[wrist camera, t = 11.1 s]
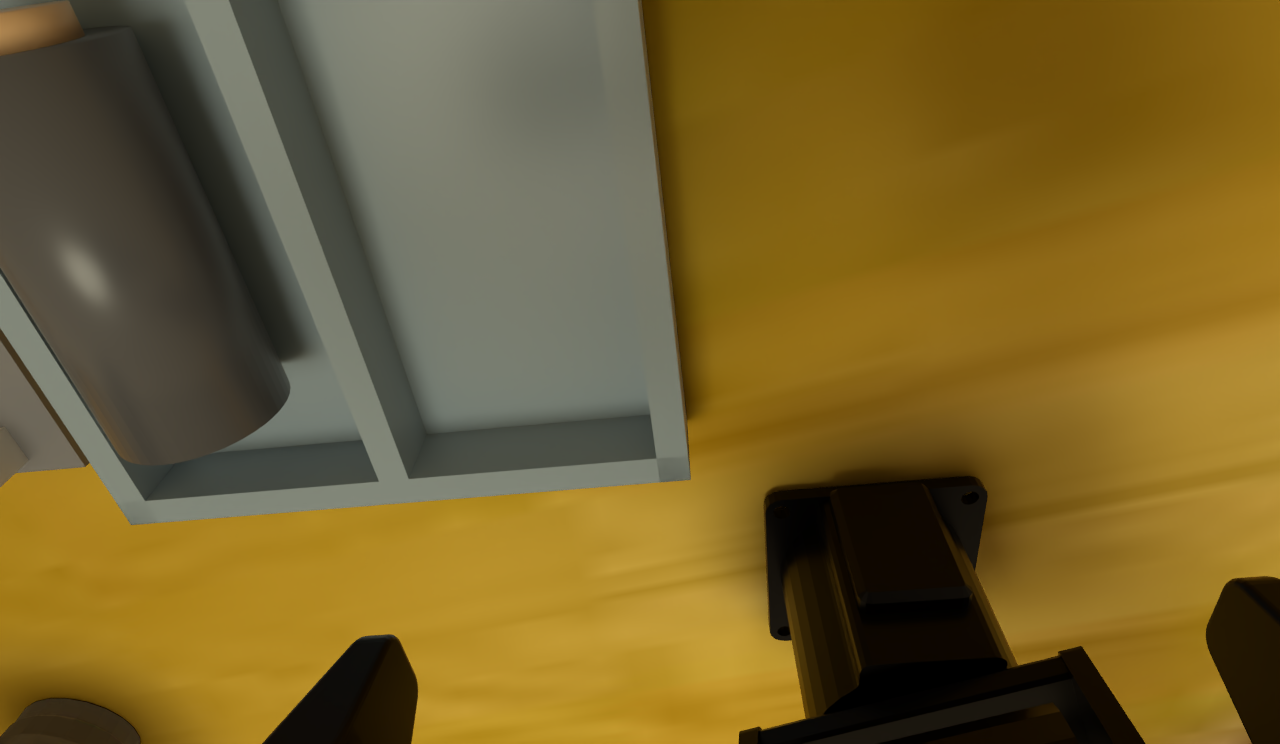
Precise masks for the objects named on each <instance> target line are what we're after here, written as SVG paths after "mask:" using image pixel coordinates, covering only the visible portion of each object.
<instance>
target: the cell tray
mask: <svg viewBox="0 0 1280 744" xmlns="http://www.w3.org/2000/svg"><path fill="white" fill-rule="evenodd" d="M54 1H65V0H0V9H5V8H11V7H18V6H25V5H31V4H38V3H46V2H54ZM68 1H69V2H70V4H71V6H72V8H73V10H74V12H75V15H76V17H77V19H78V21H79V23H80V25H81V27H82V29H89V28H97V27H107V26H131V28H132V30H133V32H134V34H135V37H136V39H137V41H138V43H139V46H140V48H141V50H142V52H143V55H144V57H145V59H146V61H147V64H148V66H149V68H150V70H151V73H152V75H153V77H154V79H155V81H156V84H157V86H158V88H159V90H160V93H161V95H162V97H163V99H164V102H165V104H166V106H167V108H168V111H169V113H170V115H171V117H172V120H173V122H174V124H175V126H176V129H177V131H178V133H179V135H180V138H181V140H182V142H183V144H184V146H185V149H186V151H187V153H188V155H189V158H190V160H191V162H192V164H193V167H194V169H195V171H196V173H197V176H198V178H199V180H200V182H201V185H202V187H203V189H204V191H205V194H206V196H207V198H208V200H209V202H210V205H211V207H212V209H213V211H214V214H215V216H216V218H217V220H218V223H219V225H220V227H221V229H222V232H223V234H224V236H225V238H226V241H227V243H228V245H229V247H230V250H231V252H232V254H233V256H234V259H235V261H236V263H237V265H238V267H239V270H240V272H241V274H242V276H243V279H244V281H245V283H246V285H247V288H248V290H249V292H250V294H251V297H252V299H253V301H254V303H255V306H256V308H257V310H258V312H259V315H260V317H261V319H262V321H263V324H264V326H265V328H266V330H267V332H268V335H269V337H270V339H271V341H272V344H273V346H274V348H275V350H276V353H277V355H278V357H279V359H280V362H281V364H282V366H283V368H284V371H285V373H286V375H287V377H288V380H289V382H290V386H291V389H290V394H289V397H288V399H287V401H286V403H285V404H284V406H283V407H282V408H281V410H280V411H279V412H278V413H277V414H276V415H275V416H274V417H273V418H272V419H271V420H270V421H268V422H267V423H266V424H265V425H263V426H262V427H261V428H259V429H258V430H256V431H255V432H253V433H252V434H250V435H249V436H247V437H245V438H244V439H242V440H240V441H238V442H236V443H234V444H232V445H230V446H228V447H226V448H224V449H221V450H219V451H216V452H214V453H211V454H208V455H205V456H202V457H199V458H196V459H192V460H188V461H185V462H180V463H174V464H167V465H154V466H150V465H139V464H134V463H131V462H128V461H126V460H124V459H123V458H121V456H120V455H119V454H118V453H117V451H116V450H115V448H114V447H113V445H112V443H111V442H110V440H109V439H108V437H107V436H106V434H105V432H104V431H103V429H102V428H101V426H100V424H99V423H98V421H97V420H96V418H95V417H94V415H93V413H92V412H91V410H90V409H89V407H88V405H87V404H86V402H85V401H84V399H83V398H82V396H81V394H80V393H79V391H78V390H77V388H76V387H75V385H74V383H73V382H72V380H71V379H70V377H69V375H68V374H67V372H66V371H65V369H64V368H63V366H62V364H61V363H60V361H59V360H58V358H57V357H56V355H55V353H54V352H53V350H52V349H51V347H50V345H49V344H48V342H47V341H46V339H45V338H44V336H43V334H42V333H41V331H40V330H39V328H38V327H37V325H36V323H35V322H34V320H33V319H32V317H31V315H30V314H29V312H28V311H27V309H26V308H25V306H24V304H23V303H22V301H21V300H20V298H19V297H18V295H17V293H16V292H15V290H14V289H13V287H12V285H11V284H10V282H9V281H8V279H7V278H6V276H5V274H4V273H3V271H2V270H1V268H0V328H1V330H2V331H3V333H4V334H5V336H6V337H7V339H8V340H9V342H10V343H11V345H12V346H13V348H14V349H15V351H16V352H17V354H18V355H19V357H20V358H21V360H22V361H23V363H24V364H25V366H26V367H27V369H28V370H29V372H30V373H31V375H32V376H33V378H34V379H35V381H36V382H37V384H38V385H39V387H40V388H41V390H42V391H43V393H44V394H45V396H46V397H47V399H48V400H49V402H50V403H51V405H52V406H53V408H54V409H55V411H56V412H57V414H58V416H59V417H60V419H61V420H62V422H63V423H64V425H65V426H66V428H67V429H68V431H69V432H70V434H71V435H72V437H73V438H74V440H75V441H76V443H77V444H78V446H79V447H80V449H81V450H82V452H83V453H84V455H85V456H86V458H87V459H88V461H89V462H90V464H91V465H92V467H93V468H94V470H95V471H96V473H97V474H98V476H99V477H100V479H101V480H102V482H103V483H104V485H105V486H106V488H107V489H108V491H109V492H110V494H111V495H112V497H113V498H114V500H115V501H116V503H117V504H118V506H119V507H120V509H121V510H122V512H123V513H124V515H125V516H126V518H127V519H128V521H129V522H130V524H131V525H136V524H149V523H161V522H173V521H186V520H198V519H211V518H223V517H235V516H248V515H260V514H272V513H285V512H297V511H310V510H322V509H334V508H347V507H359V506H372V505H384V504H396V503H409V502H421V501H434V500H446V499H458V498H471V497H483V496H496V495H508V494H520V493H533V492H545V491H557V490H570V489H582V488H595V487H607V486H619V485H632V484H644V483H657V482H669V481H681V480H691V477H690V461H689V444H688V427H687V416H686V406H685V397H684V388H683V379H682V369H681V360H680V351H679V342H678V332H677V323H676V314H675V305H674V295H673V286H672V277H671V268H670V258H669V249H668V240H667V231H666V221H665V212H664V203H663V194H662V184H661V175H660V166H659V157H658V147H657V138H656V129H655V120H654V110H653V101H652V92H651V83H650V73H649V64H648V55H647V46H646V36H645V27H644V18H643V9H642V0H68Z"/></svg>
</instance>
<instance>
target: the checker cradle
mask: <svg viewBox="0 0 1280 744" xmlns="http://www.w3.org/2000/svg"><path fill="white" fill-rule="evenodd" d="M88 464H89V461H88V459H87V458H86V456H85V455H84V453H83V452H82V450H81V449H80V447H79V446H78V444H77V443H76V441H75V440H74V438H73V437H72V435H71V434H70V432H69V431H68V429H67V428H66V426H65V425H64V423H63V422H62V420H61V419H60V417H59V416H58V414H57V412H56V411H55V409H54V408H53V406H52V405H51V403H50V402H49V400H48V399H47V397H46V396H45V394H44V393H43V391H42V390H41V388H40V387H39V385H38V384H37V382H36V381H35V379H34V378H33V376H32V375H31V373H30V372H29V370H28V369H27V367H26V366H25V364H24V363H23V361H22V360H21V358H20V357H19V355H18V354H17V352H16V351H15V349H14V348H13V346H12V345H11V343H10V342H9V340H8V339H7V337H6V336H5V334H4V333H3V331H2V330H1V328H0V487H1V486H2V485H3V484H4V483H5V482H6V481H7V480H8V479H10V478H11V477H12V476H13V475H14V474H15V473H21V472H32V471H44V470H55V469H67V468H78V467H86V466H87V465H88Z"/></svg>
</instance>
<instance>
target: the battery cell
mask: <svg viewBox="0 0 1280 744" xmlns="http://www.w3.org/2000/svg"><path fill="white" fill-rule="evenodd" d="M0 268H1V270H2V271H3V273H4V274H5V276H6V278H7V279H8V281H9V282H10V284H11V285H12V287H13V289H14V290H15V292H16V293H17V295H18V297H19V298H20V300H21V301H22V303H23V304H24V306H25V308H26V309H27V311H28V312H29V314H30V315H31V317H32V319H33V320H34V322H35V323H36V325H37V327H38V328H39V330H40V331H41V333H42V334H43V336H44V338H45V339H46V341H47V342H48V344H49V345H50V347H51V349H52V350H53V352H54V353H55V355H56V357H57V358H58V360H59V361H60V363H61V364H62V366H63V368H64V369H65V371H66V372H67V374H68V375H69V377H70V379H71V380H72V382H73V383H74V385H75V387H76V388H77V390H78V391H79V393H80V394H81V396H82V398H83V399H84V401H85V402H86V404H87V405H88V407H89V409H90V410H91V412H92V413H93V415H94V417H95V418H96V420H97V421H98V423H99V424H100V426H101V428H102V429H103V431H104V432H105V434H106V436H107V437H108V439H109V440H110V442H111V443H112V445H113V447H114V448H115V450H116V451H117V453H118V454H119V455H120V456H121V458H123V459H124V460H126V461H128V462H131V463H134V464H139V465H150V466H154V465H167V464H174V463H180V462H185V461H188V460H192V459H196V458H199V457H202V456H205V455H208V454H211V453H214V452H216V451H219V450H221V449H224V448H226V447H228V446H230V445H232V444H234V443H236V442H238V441H240V440H242V439H244V438H245V437H247V436H249V435H250V434H252V433H253V432H255V431H256V430H258V429H259V428H261V427H262V426H263V425H265V424H266V423H267V422H268V421H270V420H271V419H272V418H273V417H274V416H275V415H276V414H277V413H278V412H279V411H280V410H281V408H282V407H283V406H284V404H285V403H286V401H287V399H288V397H289V394H290V389H291V386H290V382H289V380H288V377H287V375H286V373H285V371H284V368H283V366H282V364H281V362H280V359H279V357H278V355H277V353H276V350H275V348H274V346H273V344H272V341H271V339H270V337H269V335H268V332H267V330H266V328H265V326H264V324H263V321H262V319H261V317H260V315H259V312H258V310H257V308H256V306H255V303H254V301H253V299H252V297H251V294H250V292H249V290H248V288H247V285H246V283H245V281H244V279H243V276H242V274H241V272H240V270H239V267H238V265H237V263H236V261H235V259H234V256H233V254H232V252H231V250H230V247H229V245H228V243H227V241H226V238H225V236H224V234H223V232H222V229H221V227H220V225H219V223H218V220H217V218H216V216H215V214H214V211H213V209H212V207H211V205H210V202H209V200H208V198H207V196H206V194H205V191H204V189H203V187H202V185H201V182H200V180H199V178H198V176H197V173H196V171H195V169H194V167H193V164H192V162H191V160H190V158H189V155H188V153H187V151H186V149H185V146H184V144H183V142H182V140H181V138H180V135H179V133H178V131H177V129H176V126H175V124H174V122H173V120H172V117H171V115H170V113H169V111H168V108H167V106H166V104H165V102H164V99H163V97H162V95H161V93H160V90H159V88H158V86H157V84H156V81H155V79H154V77H153V75H152V73H151V70H150V68H149V66H148V64H147V61H146V59H145V57H144V55H143V52H142V50H141V48H140V46H139V43H138V41H137V39H136V37H135V34H134V32H133V30H132V28H131V26H107V27H97V28H89V29H82V27H81V25H80V23H79V21H78V19H77V17H76V15H75V12H74V10H73V8H72V6H71V4H70V2H69V1H68V0H65V1H54V2H46V3H38V4H31V5H25V6H18V7H11V8H5V9H0Z"/></svg>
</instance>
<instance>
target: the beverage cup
mask: <svg viewBox="0 0 1280 744" xmlns="http://www.w3.org/2000/svg"><path fill="white" fill-rule="evenodd" d="M0 744H140V737H139V735H138V734H137V732H136V731H135V729H134V728H133V727H132V726H131V725H130V724H129V723H128V722H126V721H125V720H124V719H123V718H122V717H120V716H118V715H116V714H114V713H113V712H111V711H109V710H107V709H105V708H102V707H99V706H96V705H93V704H90V703H88V702H83V701H77V700H72V699H46V700H41V701H37V702H34V703H33V704H31V705H30V706H28V707H27V708H25V710H24V711H23V712H22V714H21V715H20V716H19V718H18V719H17V720H16V722H15V723H13V724H12V725H11V726H10V727H9V728H8V729H7V730H6V731H5V732H4V733H3V734H2V735H1V737H0Z"/></svg>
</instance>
